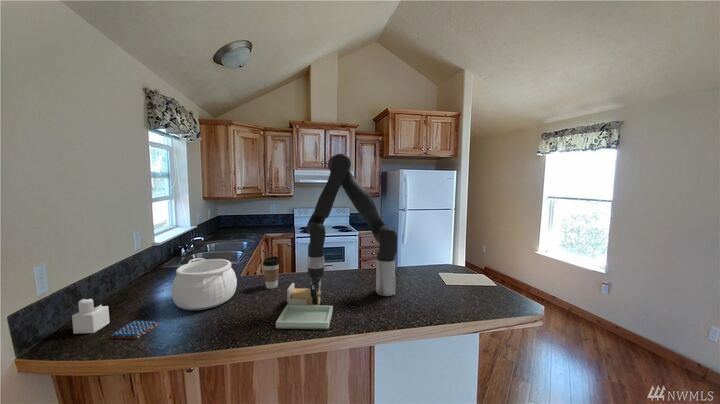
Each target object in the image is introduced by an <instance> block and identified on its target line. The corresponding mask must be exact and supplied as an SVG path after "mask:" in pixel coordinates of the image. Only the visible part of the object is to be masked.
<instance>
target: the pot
mask: <svg viewBox="0 0 720 404" xmlns="http://www.w3.org/2000/svg"><path fill="white" fill-rule="evenodd" d="M237 285H238V280H237V276H236V273H235V271H234V269H233V268H232V262H231V260H227V259H223V258H211V259H205V258H202V257H195V258H193V259H190V260H189V261H188V262H187V263H185V264H183V265H180V266H179V267H178V268H177V269H176V271H175V278H174V279H173V283H172V284H171V291H170V292H171V298H172V301H173V303H174V304H175V305H176V306H177V307H178V308H180V309H181V310H184V311H185V310H186V311H203V310H207V309H211V308H212V309H213V308H215V307H218V306H221V305H222V304H224V303H226V302H228V301H230V299H231V298H232V297H233V296H234V295H235V292H236V289H237Z"/></svg>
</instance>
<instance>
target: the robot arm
mask: <svg viewBox="0 0 720 404" xmlns="http://www.w3.org/2000/svg"><path fill="white" fill-rule="evenodd" d="M351 162H352V161H351V159H350V157H349V155H347V154H345V153H337V154H335V155H332V156H331V157H330V158H329V159H328V161H327V167H328V170H329V172H330V173H329V177H328V178H327V181H326V184H325V186H324V187H323V190H322V192H321V193H320V195H319V197H318V200H317V203H316V205H315V208H314V211H313V212H312V214H311V216H310V217H309V220H308V222H307V225H306V232H307V234H308V235H309V244H308V245H307V246H308V247H307V276H308V278H311V281H310V285H309V289H310V290H311V297H312V304H313V305H317V303H318V291H319V289H320V290H321V288H322V277H324V276H325V254H324V253H325V249H324V245H325V240H326V227H325V225H324V223H325V221H326V219H327V218H329V217H330V214H331V211H332V208H333V206H334V203H335V200H336V197H337V195H338V192H339V190H340V188H341V186H342V188H343V190H344V192H345V193H346V195H347V197H348V198H349V200H350V201H351V203H352V204H353V206H354V208H355V210H356V211H357V212H358V213H359V215H360V217H362V219H363V220H364V221H365V223H366V224H367V226H368V228H369V229H370V232H371V233H372V236H373V237H374V239H375V240H376V242H377V243H378V244H379V249H378V250H379V251H378V252H377V253H376V273H375V274H376V275H375V276H376V280H375V281H376V284H375V285H376V287H375V288H376V294H377V295H378V296H383V297H390V296H396V255H397V252H398V251H397V250H398V235H397V232H396V230H394V229H393V228H391V227H388V226H387V225H386V224H385V222H384V221H383V220H382V218H381V217H380V215H379V212H378V208H377V205H376V203H375V201H374V199H373V198H372V196H371V194H370V193H369V192H368V190H367V189H366V188H365V187H364V186H363V184H361V183H360V181H358V180H357V179H356V178H355V177H354V175H353V173H352V172H351V166H352V165H351V164H352V163H351ZM313 293H315V294H313Z"/></svg>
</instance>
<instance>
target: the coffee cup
mask: <svg viewBox="0 0 720 404" xmlns="http://www.w3.org/2000/svg"><path fill="white" fill-rule="evenodd" d="M279 265H280V258H279V257H278V256H270V257H266V258H265V259H263V262H262V266H263V274H264V275H263V276H264V280H265V288H266V289H269V290H270V289H271V290H272V289H275V288H278V285H279V273H280V272H279V270H280V266H279Z"/></svg>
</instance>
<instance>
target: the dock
mask: <svg viewBox="0 0 720 404" xmlns="http://www.w3.org/2000/svg"><path fill="white" fill-rule="evenodd" d="M295 286H296V285H295V282H292V283H291V284H290V285H289V287H288V288H287V289H286V296H287V297H286V301H287V305H307V299H292V292H293V290H294V289H295V288H296V287H295Z"/></svg>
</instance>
